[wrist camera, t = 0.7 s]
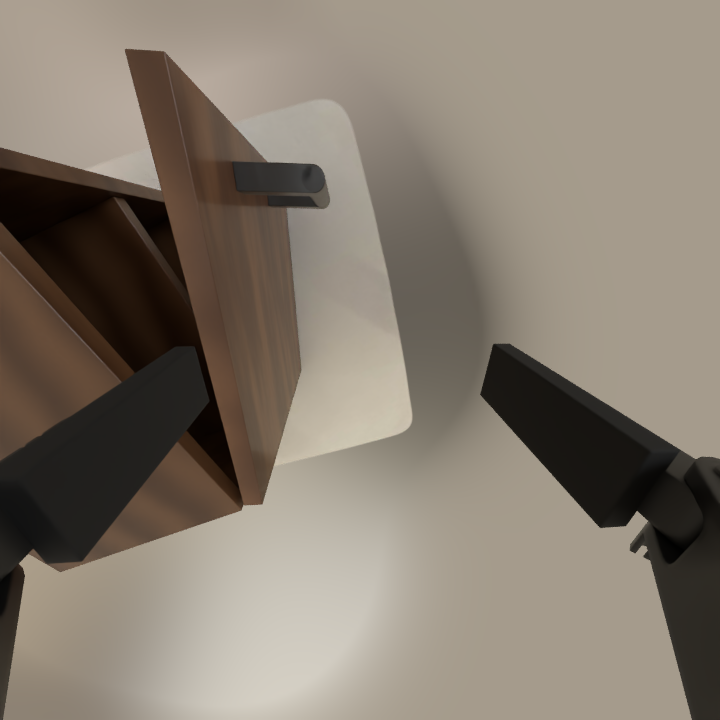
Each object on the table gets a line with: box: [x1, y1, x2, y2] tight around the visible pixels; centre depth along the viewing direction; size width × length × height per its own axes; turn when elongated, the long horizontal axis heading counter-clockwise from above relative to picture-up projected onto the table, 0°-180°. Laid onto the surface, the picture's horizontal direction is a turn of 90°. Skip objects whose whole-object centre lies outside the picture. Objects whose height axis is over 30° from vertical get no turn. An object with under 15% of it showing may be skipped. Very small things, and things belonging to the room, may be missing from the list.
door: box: [125, 49, 330, 505], centre depth 27 cm, size 7×26×24 cm, turn 179°
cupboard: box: [0, 148, 244, 572], centre depth 27 cm, size 18×26×24 cm
